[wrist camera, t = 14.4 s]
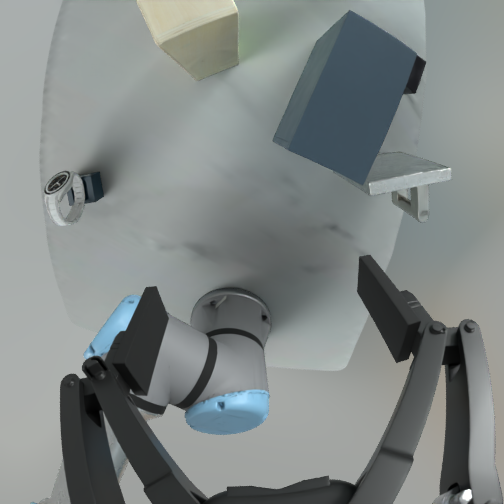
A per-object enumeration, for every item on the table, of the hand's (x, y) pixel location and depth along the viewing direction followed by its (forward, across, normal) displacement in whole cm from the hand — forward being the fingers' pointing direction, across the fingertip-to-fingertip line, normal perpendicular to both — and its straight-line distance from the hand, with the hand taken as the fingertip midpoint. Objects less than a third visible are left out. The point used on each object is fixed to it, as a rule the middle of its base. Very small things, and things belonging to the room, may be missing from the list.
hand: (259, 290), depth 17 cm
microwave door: (+27, +20, -1) cm, 33 cm away
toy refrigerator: (+27, -2, +22) cm, 35 cm away
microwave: (+27, +14, +12) cm, 32 cm away
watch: (+27, -26, +6) cm, 38 cm away
